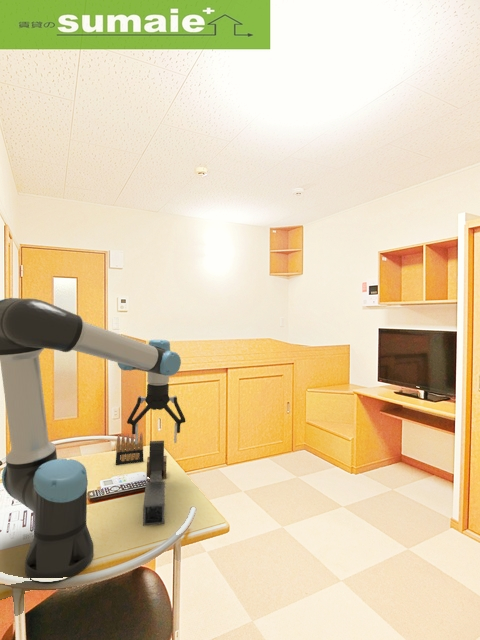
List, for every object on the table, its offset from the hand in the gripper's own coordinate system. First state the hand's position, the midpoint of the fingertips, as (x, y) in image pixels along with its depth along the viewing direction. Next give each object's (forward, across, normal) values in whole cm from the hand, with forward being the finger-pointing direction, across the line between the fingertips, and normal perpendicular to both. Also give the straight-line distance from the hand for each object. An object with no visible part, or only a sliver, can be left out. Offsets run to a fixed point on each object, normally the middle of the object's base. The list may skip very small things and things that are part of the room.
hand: (155, 442), depth 132 cm
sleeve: (+15, -1, +18) cm, 24 cm away
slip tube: (+14, -1, +4) cm, 14 cm away
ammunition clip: (+15, +10, -20) cm, 27 cm away
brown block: (+15, -1, -6) cm, 16 cm away
